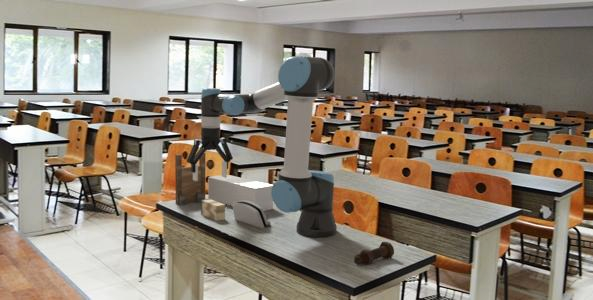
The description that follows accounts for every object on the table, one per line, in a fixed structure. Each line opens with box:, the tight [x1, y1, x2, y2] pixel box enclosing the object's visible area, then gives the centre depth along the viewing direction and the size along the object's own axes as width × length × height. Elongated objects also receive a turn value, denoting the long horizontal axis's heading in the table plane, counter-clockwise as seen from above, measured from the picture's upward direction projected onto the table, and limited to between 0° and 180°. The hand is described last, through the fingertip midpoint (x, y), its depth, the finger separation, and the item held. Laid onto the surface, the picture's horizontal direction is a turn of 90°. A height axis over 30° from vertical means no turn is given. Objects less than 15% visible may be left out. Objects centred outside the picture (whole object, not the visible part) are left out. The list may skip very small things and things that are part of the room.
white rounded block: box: [231, 200, 272, 229], centre depth 214 cm, size 17×5×10 cm, turn 45°
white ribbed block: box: [207, 174, 274, 212], centre depth 244 cm, size 32×11×11 cm, turn 47°
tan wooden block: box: [200, 198, 226, 222], centre depth 222 cm, size 12×4×6 cm, turn 40°
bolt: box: [353, 241, 395, 266], centre depth 174 cm, size 6×5×15 cm
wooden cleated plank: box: [174, 152, 206, 206], centre depth 244 cm, size 4×14×22 cm, turn 130°
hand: (210, 178), depth 222 cm, fingers open, 13 cm apart
